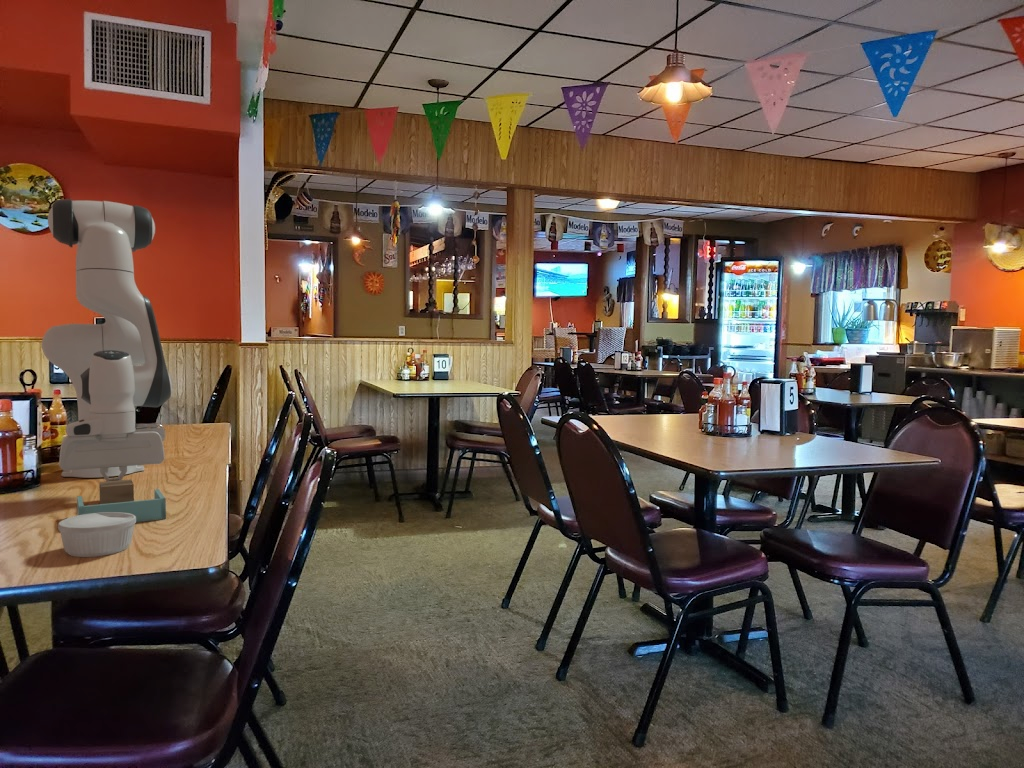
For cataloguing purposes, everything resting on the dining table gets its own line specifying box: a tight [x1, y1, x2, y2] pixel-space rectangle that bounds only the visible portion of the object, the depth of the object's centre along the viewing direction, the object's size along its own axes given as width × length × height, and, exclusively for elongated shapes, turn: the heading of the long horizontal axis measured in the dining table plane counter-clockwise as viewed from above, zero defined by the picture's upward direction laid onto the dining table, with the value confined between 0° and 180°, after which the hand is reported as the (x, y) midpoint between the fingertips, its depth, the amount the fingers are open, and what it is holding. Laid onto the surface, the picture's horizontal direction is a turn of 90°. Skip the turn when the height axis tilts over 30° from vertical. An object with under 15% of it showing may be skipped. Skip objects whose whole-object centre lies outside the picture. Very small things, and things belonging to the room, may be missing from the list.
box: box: [76, 488, 167, 523], centre depth 140 cm, size 11×15×4 cm
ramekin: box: [57, 512, 137, 558], centre depth 119 cm, size 11×11×5 cm
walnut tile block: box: [98, 479, 135, 504], centre depth 150 cm, size 6×6×5 cm
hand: (113, 487), depth 156 cm, fingers closed
